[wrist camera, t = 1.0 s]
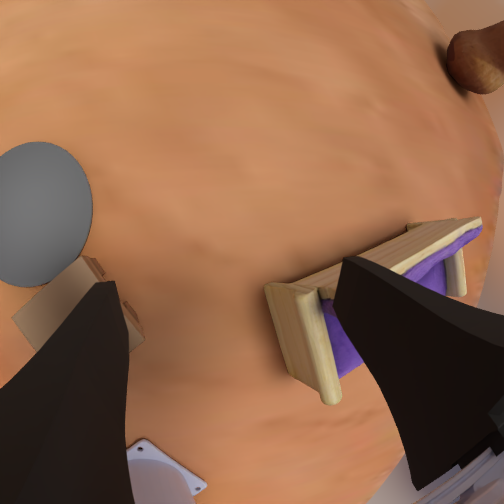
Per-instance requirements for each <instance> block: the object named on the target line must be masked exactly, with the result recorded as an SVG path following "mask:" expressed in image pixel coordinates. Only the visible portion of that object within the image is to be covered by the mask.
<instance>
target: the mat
mask: <svg viewBox="0 0 504 504" xmlns="http://www.w3.org/2000/svg"><path fill="white" fill-rule="evenodd" d="M92 215H93V202H92V194H91V189H90V185H89V182H88V180H87V177H86V175H85V173H84V171H83V169H82V167H81V166H80V164H79V163H78V161H77V160H76V159H75V158H74V157H73V156H72V155H71V154H70V153H68V152H67V151H66V150H64V149H63V148H61V147H59V146H57V145H54V144H51V143H46V142H30V143H25V144H22V145H19V146H17V147H14V148H12V149H11V150H9V151H7V152H6V153H4V154H3V155H2V156H0V280H2V281H4V282H6V283H8V284H11V285H14V286H19V287H34V286H39V285H42V284H45V283H48V282H50V281H52V280H53V279H54V278H55V277H56V276H57V275H59V274H60V273H61V272H62V271H63V270H65V269H66V268H67V267H68V266H69V265H70V264H72V263H73V262H74V261H75V260H76V259H77V258H78V256H79V254H80V253H81V251H82V249H83V247H84V245H85V243H86V241H87V238H88V235H89V232H90V227H91V223H92Z"/></svg>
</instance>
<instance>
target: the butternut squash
mask: <svg viewBox="0 0 504 504" xmlns="http://www.w3.org/2000/svg"><path fill="white" fill-rule="evenodd" d="M447 68H448V71H449V74H450V75H451V76H452V77H453V78H454V79H455V80H456V82H457V83H458V84H459V85H460V86H461V87H463V88H465V89H467V90H469V91H471V92H474V93H477V94H489V93H491V92H494V91H495V90H497V89H498V88H499V87H500V86H502V85H503V84H504V21H501V22H499V23H497V24H495V25H492V26H489V27H487V28H484V29H481V30H466V31H461V32H459V33H457V34H455V35H454V36H453V38H452V40H451V42H450V44H449V46H448V49H447Z"/></svg>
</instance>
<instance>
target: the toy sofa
mask: <svg viewBox="0 0 504 504" xmlns="http://www.w3.org/2000/svg"><path fill="white" fill-rule="evenodd" d="M481 231H482V220H481V217H470V218H464V219H459V220H457V219H456V218H451V219H446V220H438V221H428V222H418V223H409V224H407V232H406V233H404V234H402V235H400V236H398V237H396V238H394V239H392V240H390V241H387V242H385V243H383V244H381V245H379V246H377V247H375V248H372V249H370V250H368V251H366V252H364V253H362V254H359V255H357V256H360V257H363V258H365V259H368V260H370V261H373V262H375V263H377V264H379V265H382V266H384V267H386V268H388V269H390V270H392V271H394V272H396V273H398V274H400V275H402V276H404V277H406V278H408V279H410V280H412V281H414V282H416V283H418V284H420V285H422V286H424V287H426V288H429V289H431V290H433V291H435V292H437V293H440V294H442V295H444V296H453V297H462V296H465V295H466V293H467V292H466V279H465V269H464V260H463V252H462V247H463V246H464V245H466V244H468V243H469V242H470V241H472V240H473V239H474V238H476V237H477V236H478V235H479V234H480V232H481ZM341 266H342V262H341V263H339V264H337V265H334V266H332V267H329V268H327V269H325V270H322V271H320V272H318V273H315V274H313V275H310V276H308V277H305V278H303V279H301V280H298V281H296V282H293V283H289V284H287V283H277V282H271V283H268V284H265V285H264V292H265V295H266V299H267V302H268V306H269V309H270V313H271V316H272V320H273V323H274V327H275V330H276V334H277V337H278V341H279V344H280V347H281V351H282V354H283V357H284V360H285V363H286V367H287V370H288V373H289V374H290V375H291V376H292V377H294V378H295V379H297V380H299V381H301V382H302V383H304V384H306V385H307V386H309V387H311V388H313V389H314V390H316V391H317V392H319V394H320V398H321V401H322V402H323V403H324V404H326V405H335V404H337V403H338V402H339V401H340V400H341V398H342V392H341V387H340V383H339V379H340V378H341V377H343V376H344V375H346V374H347V373H349V372H350V371H352V370H353V369H355V368H356V367H358V366H359V365H361V364H362V363H364V361H363V360H362V358H361V357H360V355H359V354H358V352H357V351H356V349H355V348H354V346H353V344H352V343H351V341H350V340H349V338H348V337H347V335H346V333H345V332H344V330H343V328H342V326H341V324H340V322H339V320H338V318H337V316H336V313H335V311H334V309H333V307H332V305H333V301H334V297H335V292H336V288H337V284H338V280H339V275H340V271H341Z"/></svg>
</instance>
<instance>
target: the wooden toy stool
mask: <svg viewBox="0 0 504 504" xmlns="http://www.w3.org/2000/svg"><path fill="white" fill-rule="evenodd" d="M104 273H105V272H104V270H103V269H102V267H101V266H100V265H99V263H98V262H97V260H96V259H95V258H91V259H89V257H88V256H80V257H79V258H78V259H76V260H75V261H74V262H73V263H72V264H70V265H69V266H68V267H67V268H66V269H65V270H63V271H62V272H61V273H60V274H59V275H57V276H56V277H55V278H54V279H53V280H52V281H51V282H49V283H48V284H47V285H46V286H45V287H44V288H43V289H42V290H40V291H39V292H38V293H37V294H36V295H35V296H34V297H33V298H32V299H31V300H30V301H28V302H27V303H26V304H25V305H24V306H23V307H22V308H21V309H20V310H19V311H18V312H17V313H16V314H15V315H14V316H13V317H12V319H13V321H14V322H15V324H16V325H17V326H18V328H19V329H20V331H21V332H22V333H23V335H24V336H25V337H26V339H27V340H28V341H29V343H30V344H31V345H32V347H33V348H34V349H35V350H36V352H38V351H39V350H40V348H41V347H42V346H43V345H44V344H45V342H46V341H47V340H48V339H49V338H50V337H51V335H52V334H53V333H54V332H55V331H56V330H57V328H58V327H59V326H60V325H61V324H62V322H63V321H64V320H65V319H66V317H67V316H68V315H69V314H70V313H71V311H72V310H73V309H74V308H75V306H76V305H77V304H78V303H79V301H80V300H81V299H82V298H83V296H84V295H85V294H86V293H87V292H88V290H89V289H90V288H91V287H92V286H93V285H94V284H95V283H96V282H106V281H105V280H104V278H103V277H102V275H103V274H104ZM120 304H121V307H122V311H123V314H124V318H125V321H126V325H127V328H128V331H129V353H130V352H131V351H132V350H134V349H135V348H136V347H137V346H138V345H140V344H141V343H142V342H143V341H145V337H144V333H143V329H142V327H141V326H140V325H139V321H138V316H137V314H136V313H135V311H134V310H133V309H132V308H131V306H130V305H129V304H128V302H127V301H126V302H125V303H123V304H122V302H121V301H120Z"/></svg>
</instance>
